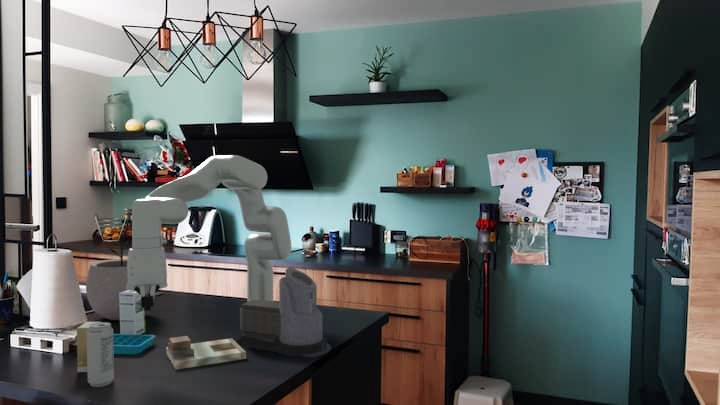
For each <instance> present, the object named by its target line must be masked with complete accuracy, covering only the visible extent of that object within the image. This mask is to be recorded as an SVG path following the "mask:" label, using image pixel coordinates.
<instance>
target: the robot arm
mask: <svg viewBox="0 0 720 405" xmlns="http://www.w3.org/2000/svg"><path fill="white" fill-rule="evenodd" d="M267 181H268V174H267V171H266V169H265V167H263V166H262V165H261V164H259V163H257V162H255V161H254V160H250V159H249V158H246V157H244V156H242V155H241V156H240V155H236V154H228V155H227V154H226V155H225V154H224V155H223V154H222V155H221V154H217V155H211V156H210V157H208V158H207V159H205V161H203V162H201V164H200V165H198V166H196V168H194V169H192V171H191V172H189V173H188V174H186V175H184V176H182V177H179V178H176V179H174V180H172V181H170V182H168V183H164V184H163V185H161V186H159V187H157V188H155V189H154V190H153V191H151V192H150V193H149V194H147V195H146V196H144V198H138V199H135V200H133V202H132V205H131V210H132V211H131V214H132V215H131V217H132V218H131V225H132V226H131V233H132V234H131V235H132V236H131V239H132V240H131V242H132V243H131V245H132V246H131V248H128V252H127V254H128V255H127V258H128V259H127V285H126V289H127V290H132V291H136V292H137V293H138V294H140V295H141V308H143V309H144V311H145V312H147V311H149V312H151V310H152V307H154V300H153V296H154V294H155V293H157V292H158V291H159V290H160V289H164V288H167V287H168V286H169V284H168V281H167V279H168V274H167V273H168V270H167V260H166V252H165V248H164V247H163V245H165V244H168V239H167V238H163V237H162V224H165V225H166V224H167V225H176V224H181V223H182V222H184V221H186V219H187V217H188V216H189V206H188V205H187V203H188V202H194V201H197V200H200V199H203V198H205V197H207V196H208V195H209V194H210V193H212V191H213V190H215V189H216V188H217V187H218V186H219V185H220V184H222V185H223V186H224V187H226V188H229V189H230V190H231V191H233V192H234V193H235V195H236V196H237V198H238V201H239V206H240V210H241V216H242V221H243V224H244V227H245V229H246V230H247V231H249V232H253V233H252V234H249V235H248V236H247V237H246V238H245V241H244V244H243V245H244V254H245V259H246V268H247V270H246V272H247V274H246V276H247V280H246V284H247V287H246V288H247V292H246V293H247V300H246V301H247V302H250V301H252V300H264V301H273V302H274V268H273V266H272V263H271V261H285V260H287V259H288V258H289V257H290V256H291V254H292V241H291V240H292V239H291V234H290V227H289V222H288V218H287V214H286V212H285V210H284V209H282V208H281V207H279V206H275V205H273V206H271V205H270V206H268V205H266V203H265V200H264V194H263V192H262V189H263V188H264V187H265V186H266V185H267ZM156 284H157V285H156ZM144 285H150V287H149V292H148V294H147V296H146V293H145V288H144ZM155 295H156V294H155ZM247 302H246V303H247Z"/></svg>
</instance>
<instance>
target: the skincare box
mask: <svg viewBox="0 0 720 405" xmlns="http://www.w3.org/2000/svg"><path fill="white" fill-rule="evenodd" d="M99 322H100V321H85V322H83V323H82V324H81V325H79V326H77V328H76V343H77V345H76V352H77V353H76V355H77V356H76V357H77V363H76V364H77V373H88V371H87V331H88V330H89V328H90V327H89V326H90V325H91V324H94V323H99Z"/></svg>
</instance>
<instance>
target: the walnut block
mask: <svg viewBox="0 0 720 405" xmlns="http://www.w3.org/2000/svg"><path fill="white" fill-rule="evenodd" d="M168 340H169V342H168V343H169V352H170V354H171V355H172V357H173V351H176V350H183V349H191V344H192V343H191V341H192V340H191V339H190V337H189V336H187V335H183V336H176V337H175V336H174V337H169V338H168Z"/></svg>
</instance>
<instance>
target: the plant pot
mask: <svg viewBox="0 0 720 405" xmlns="http://www.w3.org/2000/svg"><path fill="white" fill-rule="evenodd" d="M129 240H130V239H128V240H127V241H126V242H125V245H124V246H123V236H121V239H120V243H121V244H119V243H112V245H113V246H120V254H118V252H116V250H113V249H112V248H109V249H110V251H111V253H114V254H116V256H117V257H120V258H110V259H104V260H98V261H93V262H91V263H90V265H89V268H88V272H87V274H86V275H87V276H86V282H85V292H86V296H87V300H88V301H87V302H88V303H89V305H90V307H91V309H92V310H93V311H94V312H95V313H96V314H97V315H99V316H100V317H102V318H104V319H107V320H111V321H120V304H119V293H121V292H124V291H127V289H126V285H127V259H128V257H126V258H124V257H123V256H124V255H123V251H124V250H125V249H126V245H127V244H128V242H129ZM156 285H158V284H156ZM149 287H150V285H144V288H145V293H146V296H147V294H148V292H149ZM156 293H157V292H156ZM156 293H155V294H154V296H153V301H154V299H155V297H156Z"/></svg>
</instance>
